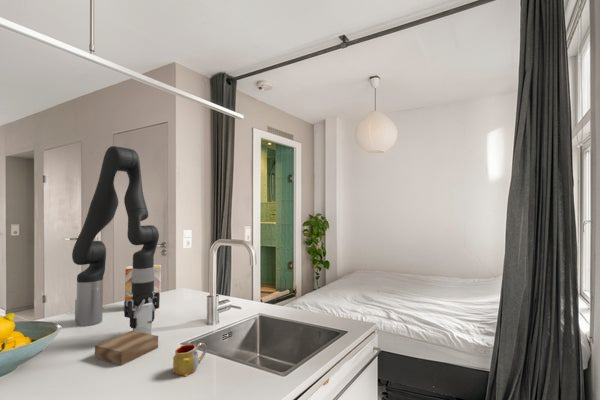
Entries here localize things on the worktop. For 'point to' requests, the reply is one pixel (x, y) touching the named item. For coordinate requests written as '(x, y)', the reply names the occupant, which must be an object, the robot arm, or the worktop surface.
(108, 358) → the base
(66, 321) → the worktop surface
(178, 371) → the mug
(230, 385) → the worktop surface
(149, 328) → the skincare box
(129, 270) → the coffeecake box
